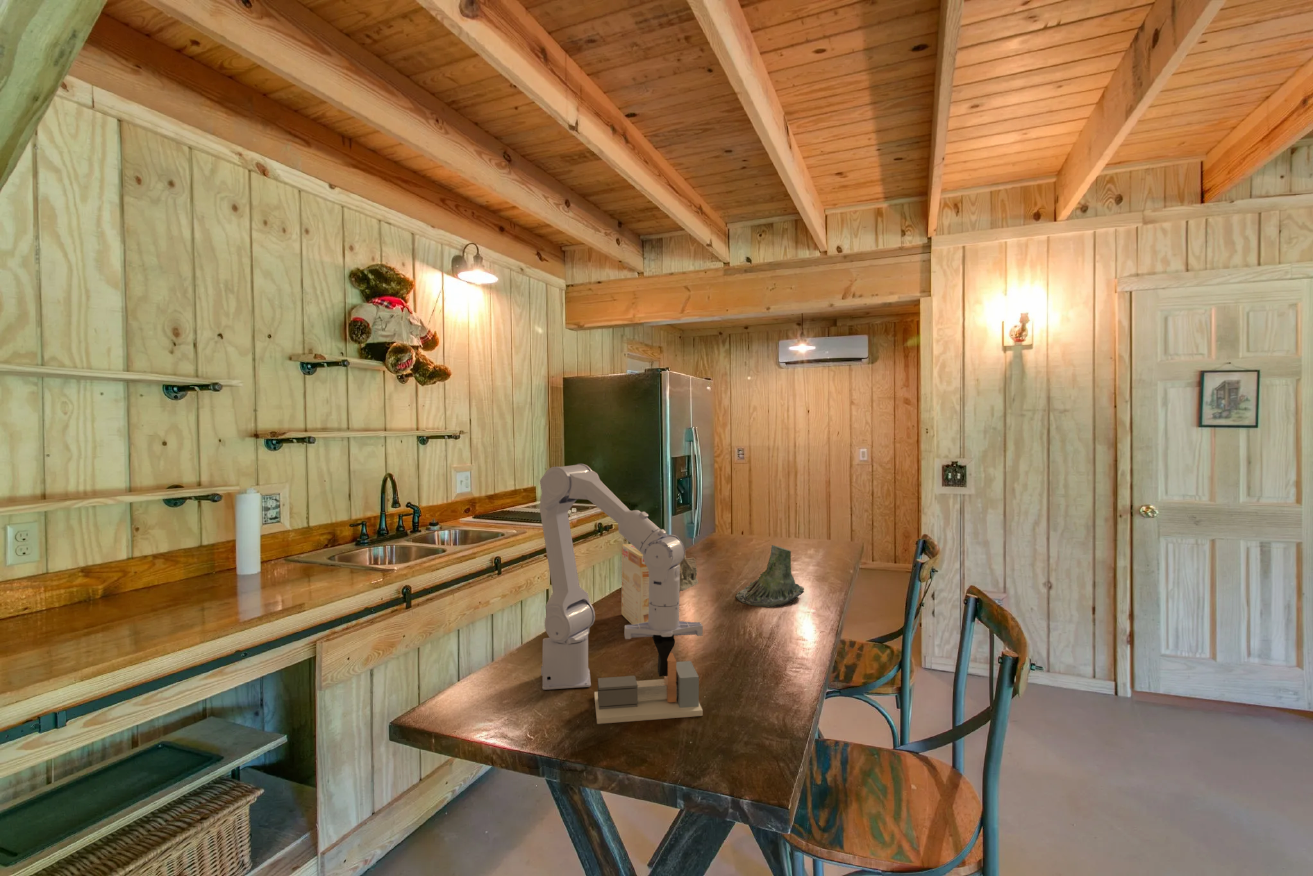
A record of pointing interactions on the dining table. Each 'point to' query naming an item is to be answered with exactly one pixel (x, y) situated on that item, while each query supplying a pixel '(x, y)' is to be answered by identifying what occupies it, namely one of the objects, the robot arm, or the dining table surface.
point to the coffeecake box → (634, 585)
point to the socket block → (687, 684)
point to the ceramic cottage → (688, 573)
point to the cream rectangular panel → (633, 703)
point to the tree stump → (773, 583)
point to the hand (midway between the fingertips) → (663, 674)
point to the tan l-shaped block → (660, 685)
